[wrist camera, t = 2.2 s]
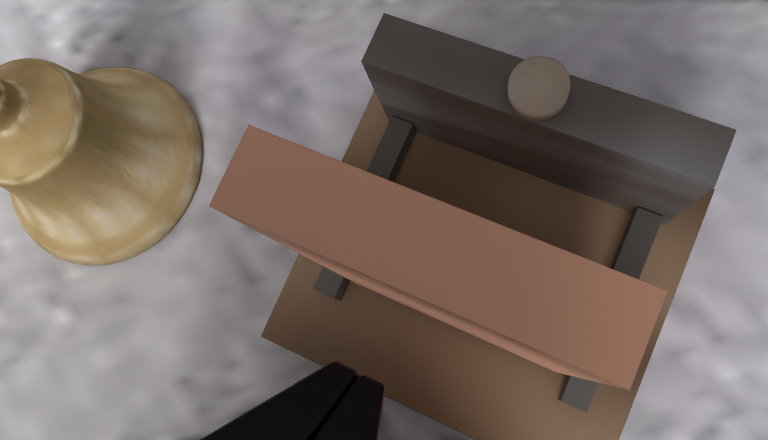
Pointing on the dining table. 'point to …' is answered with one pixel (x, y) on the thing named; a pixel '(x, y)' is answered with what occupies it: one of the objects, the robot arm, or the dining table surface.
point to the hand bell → (95, 158)
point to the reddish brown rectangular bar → (443, 260)
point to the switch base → (506, 222)
